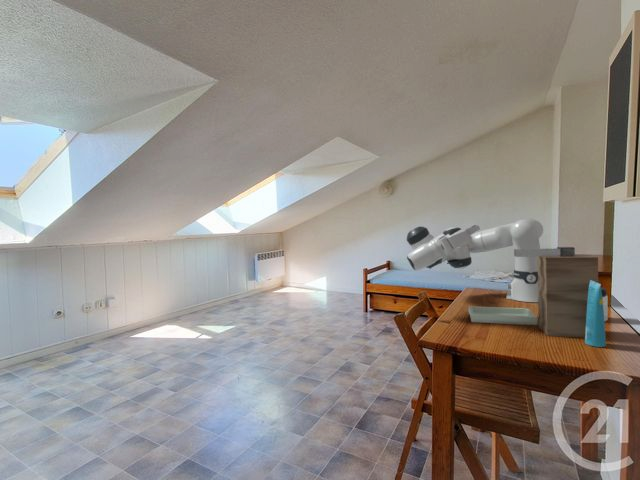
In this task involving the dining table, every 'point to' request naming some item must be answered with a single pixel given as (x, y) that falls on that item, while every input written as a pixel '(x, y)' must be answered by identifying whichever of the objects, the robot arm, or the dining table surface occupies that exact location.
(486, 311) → the tray
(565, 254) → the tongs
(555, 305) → the stand
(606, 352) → the dining table surface
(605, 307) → the jar
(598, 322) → the tube
